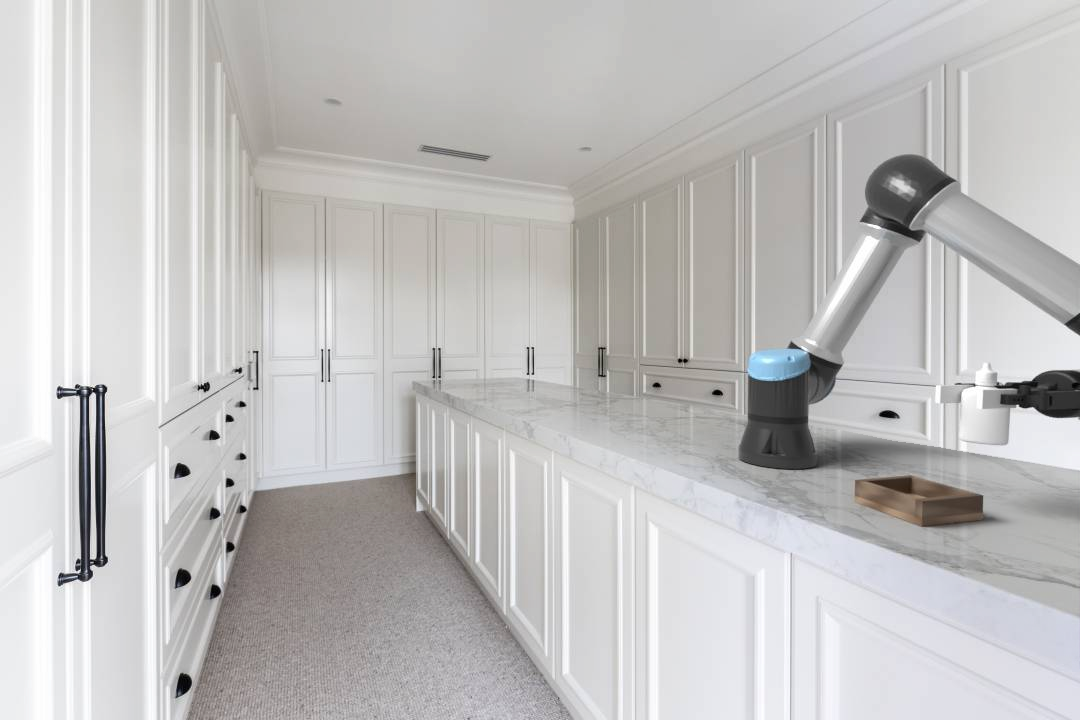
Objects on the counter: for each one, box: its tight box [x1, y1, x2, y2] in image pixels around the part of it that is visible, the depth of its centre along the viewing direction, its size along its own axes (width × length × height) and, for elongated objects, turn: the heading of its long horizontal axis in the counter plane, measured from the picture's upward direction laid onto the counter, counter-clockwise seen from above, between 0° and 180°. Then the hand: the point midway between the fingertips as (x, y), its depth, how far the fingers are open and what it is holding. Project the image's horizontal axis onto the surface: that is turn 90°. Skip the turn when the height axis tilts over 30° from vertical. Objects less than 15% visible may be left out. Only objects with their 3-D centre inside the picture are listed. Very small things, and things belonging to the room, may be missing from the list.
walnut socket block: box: [854, 475, 984, 527], centre depth 77 cm, size 11×11×4 cm
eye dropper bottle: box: [958, 362, 1011, 446], centre depth 77 cm, size 4×6×12 cm
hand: (958, 396), depth 75 cm, fingers closed on eye dropper bottle, 5 cm apart
